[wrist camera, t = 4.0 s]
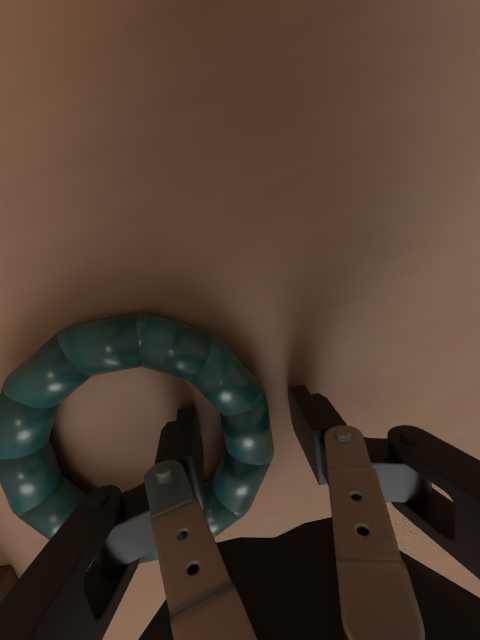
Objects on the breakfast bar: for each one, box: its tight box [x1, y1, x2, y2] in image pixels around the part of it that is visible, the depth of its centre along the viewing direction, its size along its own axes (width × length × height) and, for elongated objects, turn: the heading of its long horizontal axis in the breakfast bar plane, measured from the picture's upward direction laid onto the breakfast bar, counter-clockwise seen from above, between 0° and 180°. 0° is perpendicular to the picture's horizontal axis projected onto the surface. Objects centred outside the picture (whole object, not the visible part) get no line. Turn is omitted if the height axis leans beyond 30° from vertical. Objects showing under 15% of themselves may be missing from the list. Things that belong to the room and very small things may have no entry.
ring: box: [0, 313, 274, 563], centre depth 14 cm, size 11×11×2 cm
